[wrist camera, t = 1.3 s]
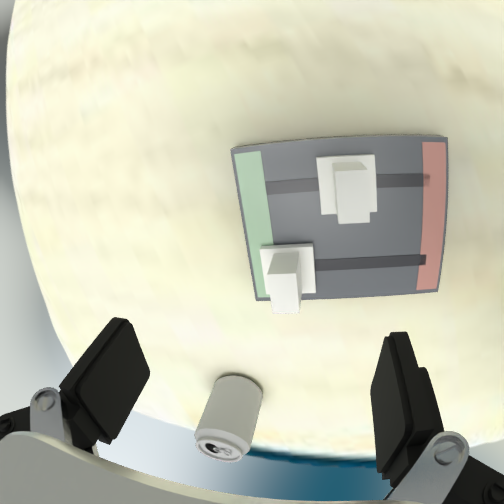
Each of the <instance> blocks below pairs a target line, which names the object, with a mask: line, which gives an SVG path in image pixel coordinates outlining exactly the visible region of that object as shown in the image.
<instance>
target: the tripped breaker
mask: <svg viewBox="0 0 504 504" xmlns="http://www.w3.org/2000/svg"><path fill="white" fill-rule="evenodd" d="M316 161H317V170H318V180H319V191H320V203H321V215H326V214H337V218H338V223H339V224H350V223H370V212H377V190H376V168H375V155H374V154H359V155H339V156H323V157H316Z"/></svg>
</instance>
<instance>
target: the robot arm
mask: <svg viewBox="0 0 504 504" xmlns="http://www.w3.org/2000/svg"><path fill="white" fill-rule="evenodd" d="M149 376H150V369H149V367H148V364H147V362H146V359H145V357H144V354H143V352H142V349H141V347H140V344H139V341H138V339H137V336H136V333H135V331H134V328H133V325H132V324H131V323H130V322H129V320H127V319H124V318H117V317H114V318H112V319H111V320H110V322H109V323H108V324H107V325H106V326H105V328H104V329H103V330H102V331H101V333H100V334H99V335H98V336H97V338H96V339H95V340H94V341H93V342H92V344H91V345H90V346H89V347H88V349H87V350H86V351H85V353H84V354H83V355H82V356H81V358H80V359H79V360H78V361H77V363H76V364H75V365H74V367H73V368H72V369H71V371H70V372H69V373H68V374H67V376H66V377H65V379H64V380H63V381H62V383H61V384H60V385H59V387H60V389H61V390H60V392H58V391H57V390H56V389H54V388H51V387H47V388H43V389H41V390H39V391H38V392H36V393H35V394H34V396H33V397H32V399H31V403H30V406H29V407H26V408H23V409H19V410H16V411H13V412H10V413H7V414H4V415H2V416H0V504H504V475H503V474H501V473H499V472H497V471H496V470H494V469H492V468H490V467H488V466H487V465H485V464H483V463H481V462H480V461H478V460H476V459H475V458H473V457H471V456H469V445H468V442H467V441H466V439H465V438H464V437H463V436H462V435H460V434H459V433H456V432H453V431H445V432H444V428H443V424H442V420H441V416H440V412H439V408H438V405H437V401H436V397H435V394H434V390H433V387H432V384H431V380H430V377H429V374H428V371H427V369H426V368H425V367H418V364H417V361H416V357H415V354H414V351H413V348H412V345H411V342H410V339H409V336H408V333H407V332H391V333H390V335H389V336H388V337H385V338H384V341H383V345H382V349H381V353H380V357H379V360H378V364H377V368H376V371H375V375H374V378H373V381H372V385H371V391H370V395H371V404H372V413H373V423H374V434H375V447H376V462H377V472H378V473H382V480H385V479H390V486H391V487H393V488H392V490H391V491H390V492H389V493H388V494H387V496H386V497H385V498H384V499H383V500H372V501H294V500H278V499H267V498H257V497H249V496H242V495H235V494H229V493H223V492H217V491H212V490H207V489H202V488H197V487H192V486H188V485H184V484H180V483H176V482H172V481H169V480H165V479H161V478H158V477H155V476H151V475H148V474H145V473H142V472H139V471H136V470H133V469H130V468H127V467H124V466H121V465H118V464H116V463H113V462H110V461H108V460H105V459H103V458H100V457H99V454H98V451H97V447H96V442H97V440H99V441H101V442H104V443H106V444H109V445H110V444H111V442H112V440H113V439H116V438H117V436H118V434H119V432H120V430H121V429H122V427H123V425H124V423H125V421H126V419H127V417H128V416H129V414H130V411H131V410H132V408H133V406H134V404H135V403H136V401H137V399H138V397H139V395H140V393H141V392H142V390H143V388H144V386H145V384H146V382H147V381H148V379H149Z"/></svg>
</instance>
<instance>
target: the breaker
mask: <svg viewBox="0 0 504 504" xmlns="http://www.w3.org/2000/svg"><path fill="white" fill-rule="evenodd" d="M259 250H260V256H261V263H262V270H263V276H264V283H265V290H266V294H270V299H271V306H272V313H273V314H287V313H300V305H301V297H302V293H316V281H315V265H314V250H313V243H307V244H289V245H271V246H261V247H260V249H259Z"/></svg>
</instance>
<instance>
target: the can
mask: <svg viewBox="0 0 504 504" xmlns="http://www.w3.org/2000/svg"><path fill="white" fill-rule="evenodd" d="M262 398H263V393H262V391H261V389H260V388H259V387H258V386H257V385H256V384H255V383H254V382H253V381H251V380H250V379H248V378H245V377H242V376H236V375H233V376H225V377H222V378H219V379H218V380H217V381H216V382H215V384H214V387H213V389H212V392H211V394H210V397H209V399H208V402H207V404H206V407H205V409H204V412H203V414H202V417H201V419H200V422H199V424H198V427H197V429H196V432H195V434H194V436H195V439H196V441H197V442H196V448H197V449H198V450H199V451H200V452H201V453H202V454H204V455H205V456H207V457H210V458H212V459H215V460H218V461H223V462H237V461H239V460H241V459H242V457H243V456H242V455H244V454H246V453H247V452H248V451H249V450H250V446H251V442H252V438H253V435H254V431H255V427H256V423H257V419H258V415H259V411H260V406H261V402H262Z"/></svg>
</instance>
